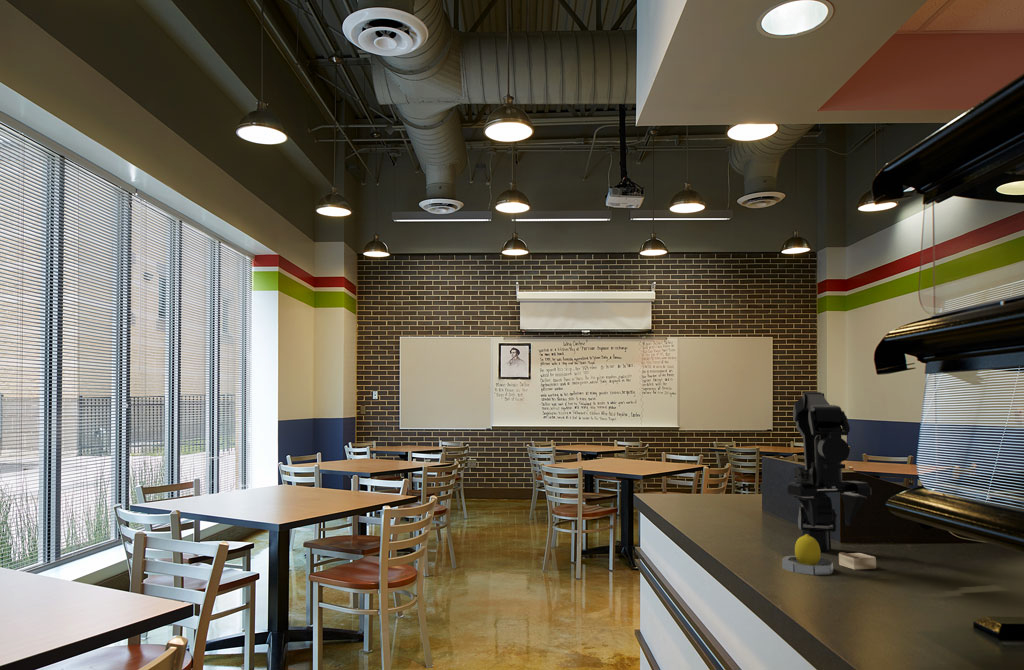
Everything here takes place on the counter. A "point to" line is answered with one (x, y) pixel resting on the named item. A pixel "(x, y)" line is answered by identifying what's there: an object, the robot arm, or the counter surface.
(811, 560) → the lemon
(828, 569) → the ring
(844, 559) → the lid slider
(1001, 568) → the counter surface
